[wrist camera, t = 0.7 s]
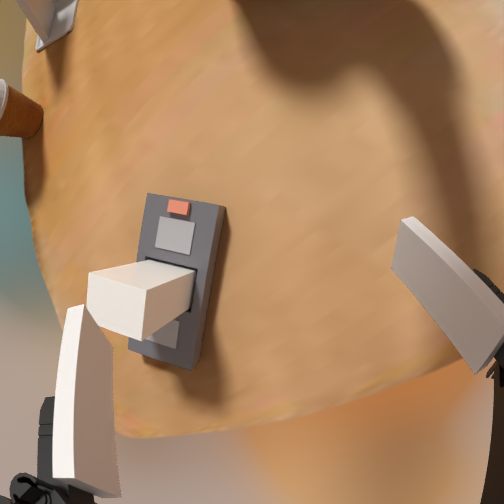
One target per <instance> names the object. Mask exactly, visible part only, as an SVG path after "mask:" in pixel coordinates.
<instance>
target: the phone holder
mask: <svg viewBox="0 0 504 504" xmlns="http://www.w3.org/2000/svg"><path fill="white" fill-rule="evenodd" d="M16 1H17V3H18V4H19V6H20V7H21V9H22V11H23V12H24V14H25V15H26V17H27V18H28V20H29V22H30V23H31V25H32V26H33V28H34V29H35V31H36V32H37V34H38V37H37V41H36V46H35V49H36V50H38V51H40V50H42V49H43V48H45V47H46V46H48V45H49V44H51V43H53V42H54V41H56V40H58V39H59V38H61V37H63V36H64V35H66V34H67V32H68V31H71V30H72V29H73V27H74V22H75V17H76V11H77V7H78V2H79V0H16Z"/></svg>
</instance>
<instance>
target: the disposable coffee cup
mask: <svg viewBox="0 0 504 504" xmlns="http://www.w3.org/2000/svg"><path fill="white" fill-rule="evenodd" d="M42 119H43V108H42V107H41V105H39V104H37V103H36V102H34V101H33V100H31V99H29V98H28V97H26V96H25V95H23V94H21V93H19V92H18V91H16V90H15V89H13V88H12V87H10V86H8V85H7V83H5V81H4V80H3V79H0V136H10V137H23V138H29V137H32V136H33V135H34V134H35V133H36V132H37V130H38V129H39V127H40V125H41V122H42Z"/></svg>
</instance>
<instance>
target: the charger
mask: <svg viewBox="0 0 504 504" xmlns="http://www.w3.org/2000/svg"><path fill="white" fill-rule="evenodd" d="M197 272H198V270H197V269H193V268H189V267H185V266H180V265H176V264H172V263H168V262H164V261H160V260H156V259H151V260H146V261H141V262H136V263H132V264H127V265H122V266H118V267H113V268H108V269H104V270H99V271H94V272H90V273H89V278H88V291H87V309H88V311H89V312H90V314H91V315H92V317H93V318H94V320H95V322H96V323H97V325H98V326H101V327H104V328H106V329H109V330H111V331H114V332H117V333H119V334H122V335H125V336H128V337H131V338H133V339H136V340H139V341H143V340H144V339H145V338H147V337H148V336H150V335H151V334H153V333H154V332H156V331H157V330H159V329H160V328H161V327H163V326H164V325H166V324H167V323H169V322H170V321H172V320H173V319H175V318H176V317H177V316H179V315H180V314H182V313H183V312H185V311H186V310H188V309H189V308H191V307H192V303H193V296H194V290H195V284H196V278H197Z"/></svg>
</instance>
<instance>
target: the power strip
mask: <svg viewBox="0 0 504 504" xmlns="http://www.w3.org/2000/svg"><path fill="white" fill-rule="evenodd" d="M225 209H226V207H224V206H220V205H215V204H210V203H204V202H198V201H193V200H187V199H181V198H175V197H169V196H162V195H156V194H150V193H147V199H146V204H145V210H144V215H143V221H142V227H141V234H140V240H139V247H138V254H137V261H136V262H141V261H146V260H151V259H156V260H160V261H164V262H168V263H172V264H176V265H180V266H185V267H189V268H193V269H197V270H198V272H197V278H196V284H195V290H194V296H193V303H192V307H191V308H189V309H188V310H186V311H185V312H183V313H182V314H180V315H179V316H177V317H176V318H175V319H173V320H172V321H170V322H169V323H167V324H166V325H164V326H163V327H161V328H160V329H159V330H157V331H156V332H154V333H153V334H151V335H150V336H148V337H147V338H145V339H144V340H143V341H139V340H136V339H133V338H131V337H129V342H128V349H129V350H131V351H134V352H137V353H140V354H142V355H145V356H148V357H151V358H154V359H157V360H160V361H163V362H166V363H169V364H172V365H175V366H178V367H181V368H184V369H188V370H191V371H192V370H193V368H194V367H195V366H196V365H197V363H198V362H199V359H200V352H201V346H202V340H203V333H204V327H205V321H206V315H207V309H208V303H209V297H210V291H211V285H212V279H213V274H214V268H215V262H216V257H217V251H218V246H219V240H220V235H221V230H222V224H223V219H224V214H225Z"/></svg>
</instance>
